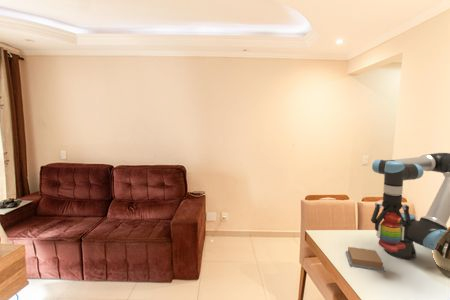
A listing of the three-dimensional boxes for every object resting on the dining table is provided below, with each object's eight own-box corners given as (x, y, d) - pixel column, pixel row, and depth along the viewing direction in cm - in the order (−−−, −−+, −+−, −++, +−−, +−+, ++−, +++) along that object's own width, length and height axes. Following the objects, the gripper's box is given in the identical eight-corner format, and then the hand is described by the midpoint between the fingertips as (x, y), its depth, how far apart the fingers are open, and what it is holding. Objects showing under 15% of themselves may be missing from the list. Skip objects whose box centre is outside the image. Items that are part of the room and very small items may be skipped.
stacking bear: (394, 253, 114) (396, 216, 112) (372, 244, 123) (374, 209, 121) (407, 247, 119) (409, 212, 117) (385, 239, 128) (387, 206, 126)
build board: (377, 257, 138) (377, 250, 138) (384, 271, 125) (385, 264, 124) (345, 252, 143) (346, 246, 142) (350, 266, 130) (350, 258, 129)
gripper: (415, 192, 119) (411, 236, 121) (364, 190, 124) (362, 232, 127) (423, 197, 112) (419, 243, 114) (369, 194, 117) (367, 238, 120)
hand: (389, 237), depth 121 cm, fingers closed on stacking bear, 9 cm apart
